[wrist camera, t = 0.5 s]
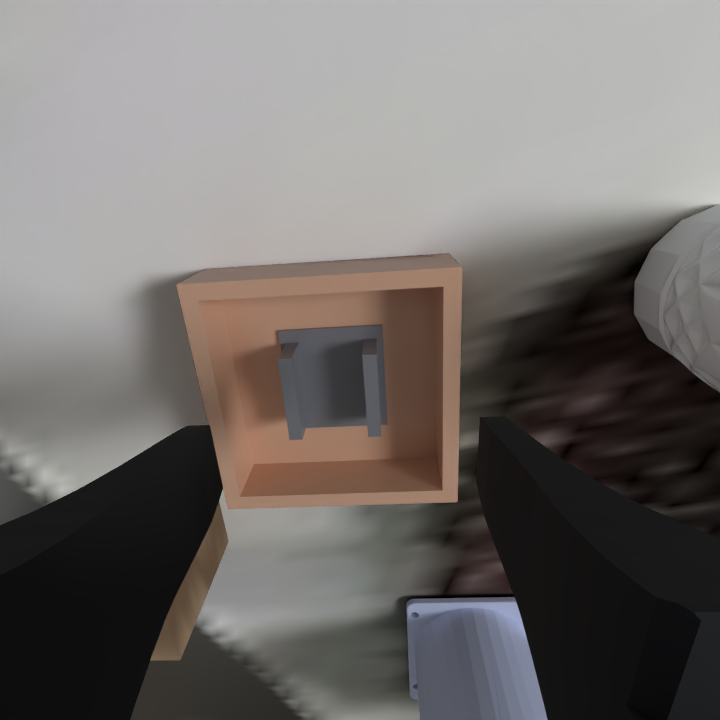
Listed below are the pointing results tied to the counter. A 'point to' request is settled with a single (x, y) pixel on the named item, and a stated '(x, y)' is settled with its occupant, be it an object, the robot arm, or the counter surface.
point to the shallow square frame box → (331, 379)
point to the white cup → (684, 294)
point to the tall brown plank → (192, 593)
